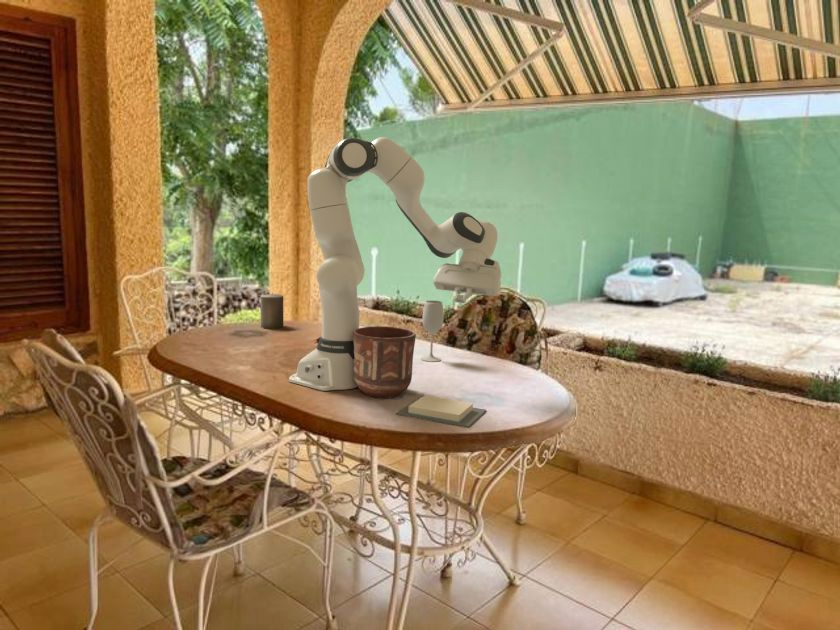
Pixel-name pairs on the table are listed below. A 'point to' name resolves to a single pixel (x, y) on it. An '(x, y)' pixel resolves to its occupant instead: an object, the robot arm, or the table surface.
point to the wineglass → (432, 323)
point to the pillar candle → (272, 311)
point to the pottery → (383, 360)
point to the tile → (441, 408)
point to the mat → (463, 423)
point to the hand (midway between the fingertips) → (459, 301)
